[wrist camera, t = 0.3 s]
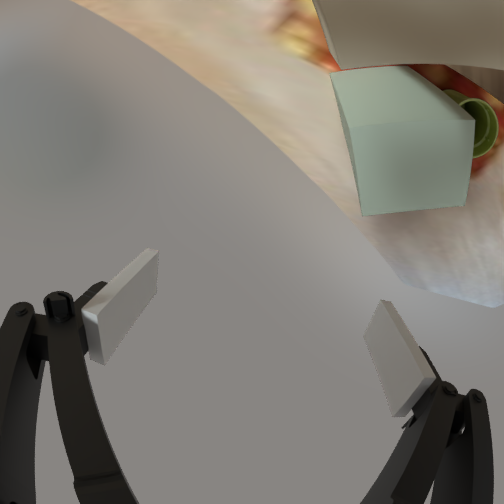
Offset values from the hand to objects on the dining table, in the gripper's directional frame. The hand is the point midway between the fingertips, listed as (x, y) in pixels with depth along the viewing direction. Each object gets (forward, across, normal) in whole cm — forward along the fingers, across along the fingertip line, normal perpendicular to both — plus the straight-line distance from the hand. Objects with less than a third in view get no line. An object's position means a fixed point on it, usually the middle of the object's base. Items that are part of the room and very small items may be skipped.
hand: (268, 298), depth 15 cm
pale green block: (+27, +11, +20) cm, 36 cm away
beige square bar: (-7, +8, +18) cm, 21 cm away
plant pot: (+25, +24, +24) cm, 42 cm away
